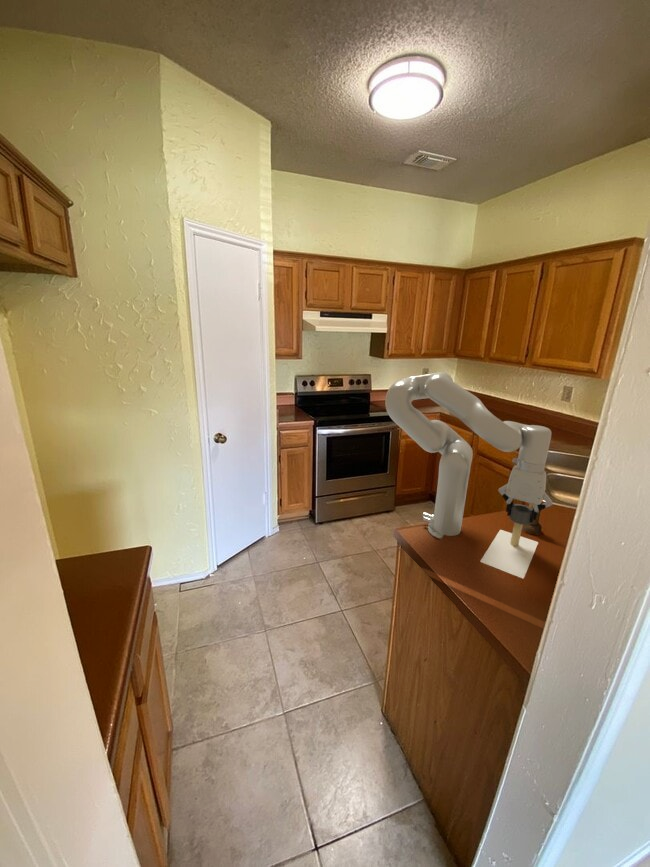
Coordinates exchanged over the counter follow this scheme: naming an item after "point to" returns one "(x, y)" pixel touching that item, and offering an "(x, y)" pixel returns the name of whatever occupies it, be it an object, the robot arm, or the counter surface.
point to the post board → (510, 552)
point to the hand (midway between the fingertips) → (520, 517)
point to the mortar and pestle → (533, 524)
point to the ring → (520, 514)
